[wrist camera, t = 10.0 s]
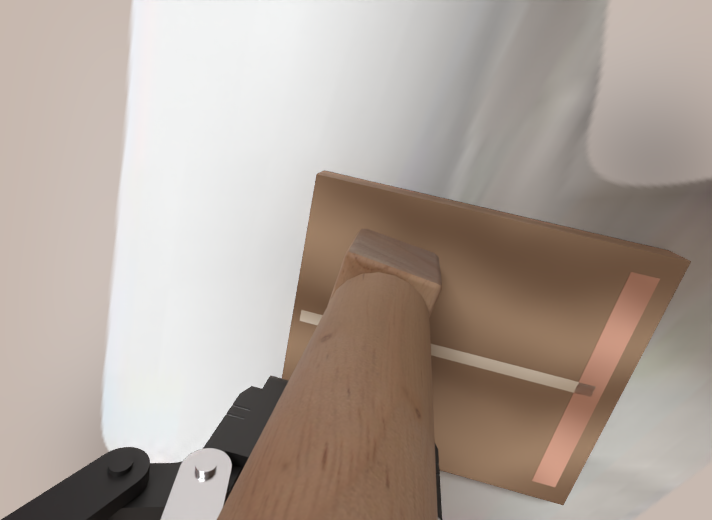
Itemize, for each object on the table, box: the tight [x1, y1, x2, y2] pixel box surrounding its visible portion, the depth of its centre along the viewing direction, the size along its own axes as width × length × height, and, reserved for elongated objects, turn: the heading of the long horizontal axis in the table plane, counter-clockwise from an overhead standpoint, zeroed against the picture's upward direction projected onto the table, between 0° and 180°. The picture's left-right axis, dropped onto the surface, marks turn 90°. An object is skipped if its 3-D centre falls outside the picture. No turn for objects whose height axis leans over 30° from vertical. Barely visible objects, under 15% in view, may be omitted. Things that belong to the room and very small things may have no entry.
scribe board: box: [282, 171, 691, 505], centre depth 20 cm, size 14×16×2 cm
